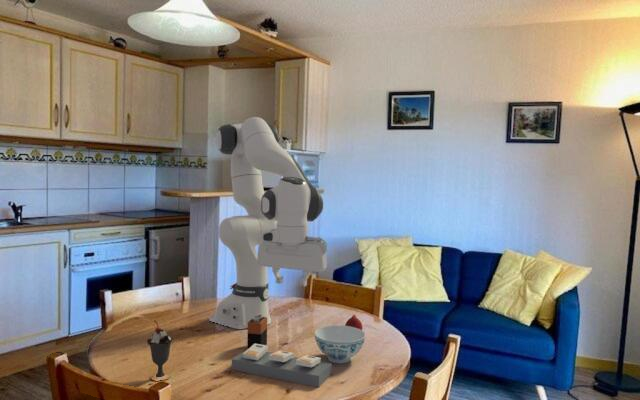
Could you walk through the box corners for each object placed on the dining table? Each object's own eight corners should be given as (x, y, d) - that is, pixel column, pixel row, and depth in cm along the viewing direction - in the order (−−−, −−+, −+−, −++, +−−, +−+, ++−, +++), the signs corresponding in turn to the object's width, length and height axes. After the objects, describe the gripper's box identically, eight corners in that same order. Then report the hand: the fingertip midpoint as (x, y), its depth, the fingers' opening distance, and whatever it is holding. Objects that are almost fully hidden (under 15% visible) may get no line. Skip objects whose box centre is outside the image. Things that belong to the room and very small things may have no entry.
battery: (246, 351, 149) (247, 319, 148) (254, 344, 155) (254, 312, 155) (260, 352, 148) (260, 320, 147) (267, 345, 155) (267, 314, 154)
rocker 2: (268, 361, 132) (269, 354, 132) (279, 356, 138) (280, 349, 138) (283, 364, 130) (283, 357, 130) (293, 359, 136) (294, 352, 136)
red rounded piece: (361, 342, 159) (361, 317, 159) (343, 340, 161) (344, 316, 160) (363, 336, 165) (363, 312, 165) (346, 334, 166) (346, 311, 166)
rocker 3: (295, 366, 129) (296, 359, 129) (305, 361, 134) (306, 354, 135) (311, 369, 127) (311, 362, 127) (320, 364, 133) (320, 357, 133)
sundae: (150, 372, 132) (150, 317, 131) (175, 372, 132) (176, 317, 131) (143, 383, 125) (143, 325, 124) (170, 382, 126) (170, 325, 125)
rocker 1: (243, 359, 135) (242, 353, 135) (255, 348, 141) (254, 342, 140) (257, 362, 133) (256, 355, 133) (268, 351, 139) (268, 345, 139)
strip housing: (231, 369, 135) (231, 359, 135) (248, 358, 143) (248, 348, 143) (318, 387, 125) (319, 375, 125) (331, 374, 133) (331, 363, 133)
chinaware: (329, 346, 155) (330, 322, 154) (373, 356, 147) (373, 331, 147) (304, 361, 142) (304, 335, 141) (350, 373, 134) (351, 345, 134)
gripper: (330, 236, 136) (329, 286, 136) (265, 232, 143) (265, 278, 144) (322, 239, 130) (321, 291, 131) (254, 234, 138) (254, 283, 138)
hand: (291, 284), depth 137 cm, fingers open, 6 cm apart
